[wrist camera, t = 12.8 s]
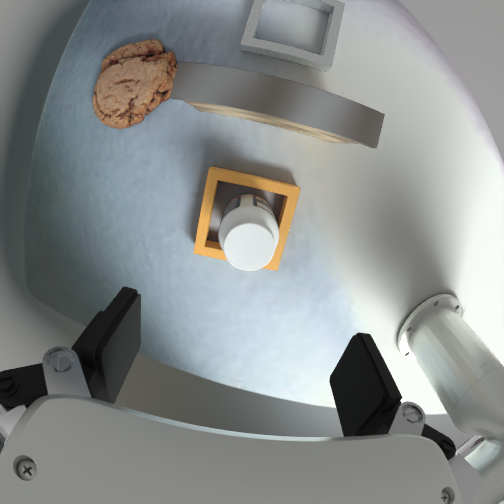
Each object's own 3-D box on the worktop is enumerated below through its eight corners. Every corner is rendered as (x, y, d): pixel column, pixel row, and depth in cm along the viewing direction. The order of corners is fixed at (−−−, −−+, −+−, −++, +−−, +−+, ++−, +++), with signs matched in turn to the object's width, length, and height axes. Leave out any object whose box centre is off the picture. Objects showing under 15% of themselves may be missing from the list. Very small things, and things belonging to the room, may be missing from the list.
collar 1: (339, 10, 20) (344, 3, 18) (325, 71, 23) (331, 67, 21) (260, -11, 19) (260, -19, 17) (240, 50, 22) (240, 44, 21)
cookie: (86, 119, 25) (72, 119, 22) (119, 38, 21) (108, 30, 18) (157, 140, 26) (147, 140, 23) (195, 52, 23) (190, 43, 20)
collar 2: (297, 185, 28) (300, 188, 26) (275, 263, 31) (277, 270, 29) (211, 166, 27) (209, 167, 25) (196, 246, 30) (193, 253, 29)
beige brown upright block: (337, 122, 25) (384, 114, 15) (332, 145, 26) (376, 148, 16) (204, 90, 24) (179, 61, 14) (199, 113, 25) (169, 97, 15)
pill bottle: (226, 242, 30) (217, 280, 22) (221, 195, 28) (209, 217, 20) (274, 239, 30) (283, 276, 22) (272, 191, 28) (281, 212, 20)
